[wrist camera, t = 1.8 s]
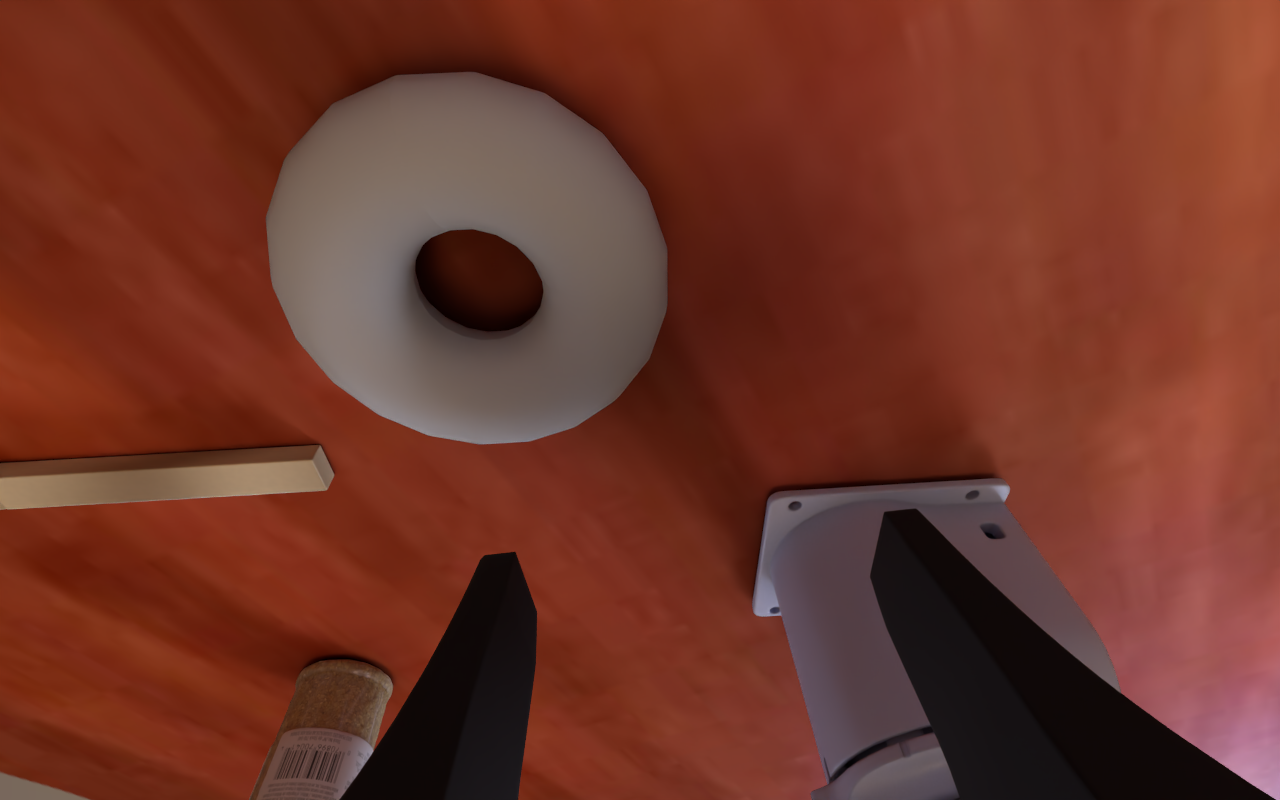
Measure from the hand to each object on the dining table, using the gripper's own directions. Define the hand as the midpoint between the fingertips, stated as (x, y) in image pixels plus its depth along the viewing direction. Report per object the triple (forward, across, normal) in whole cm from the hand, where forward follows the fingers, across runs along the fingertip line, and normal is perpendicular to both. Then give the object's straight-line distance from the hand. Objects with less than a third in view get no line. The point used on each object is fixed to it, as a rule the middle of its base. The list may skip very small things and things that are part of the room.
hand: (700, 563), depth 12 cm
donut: (+9, +5, -3) cm, 11 cm away
